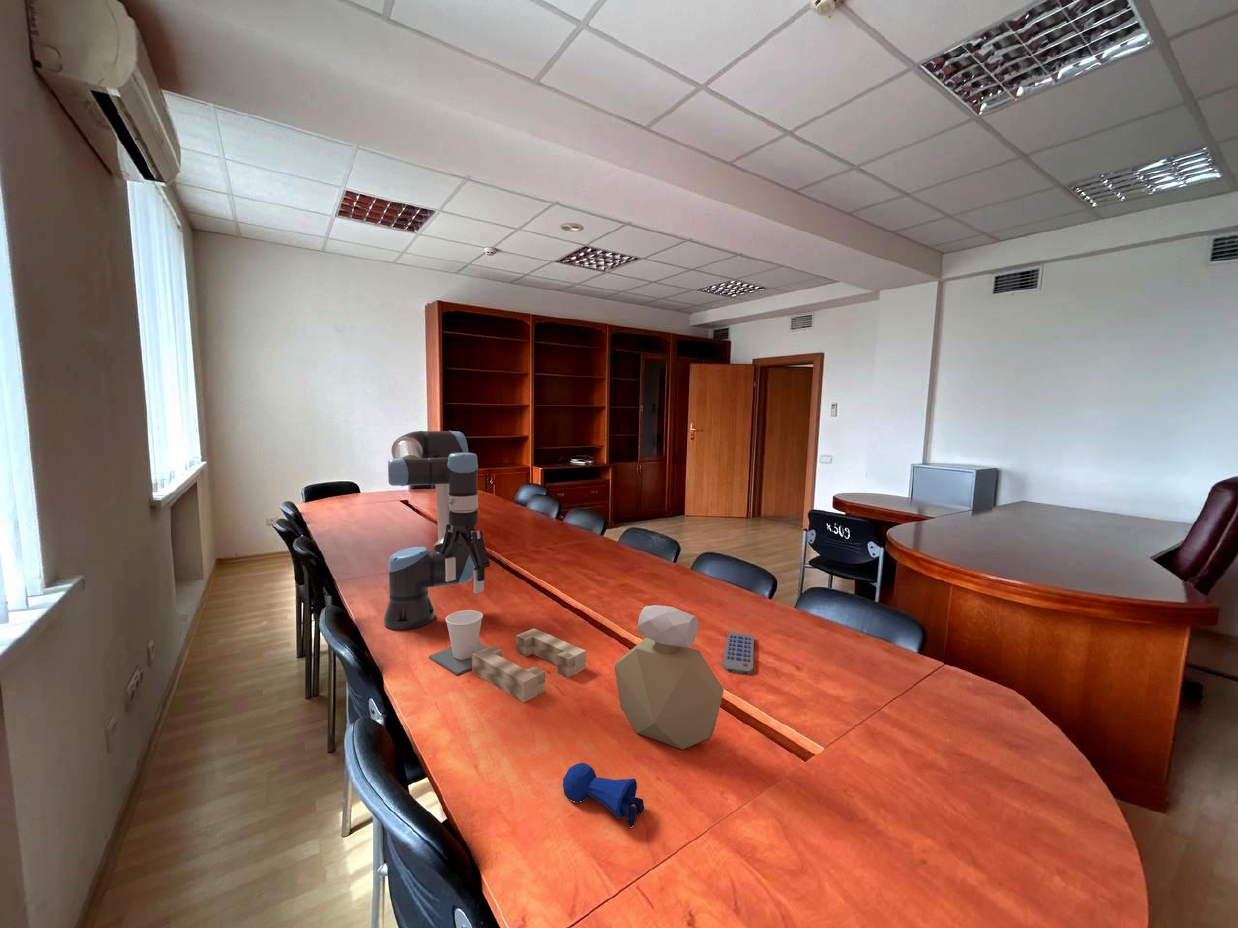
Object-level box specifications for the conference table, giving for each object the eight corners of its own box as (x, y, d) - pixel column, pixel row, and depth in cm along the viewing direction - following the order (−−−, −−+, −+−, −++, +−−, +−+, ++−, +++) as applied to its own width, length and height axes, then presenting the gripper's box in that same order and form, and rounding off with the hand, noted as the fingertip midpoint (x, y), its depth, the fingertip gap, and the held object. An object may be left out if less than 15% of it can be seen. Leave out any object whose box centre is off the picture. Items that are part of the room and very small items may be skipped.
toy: (646, 809, 85) (576, 773, 92) (649, 776, 84) (577, 742, 92) (627, 838, 79) (554, 796, 86) (629, 802, 78) (555, 764, 86)
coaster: (428, 657, 135) (428, 655, 135) (472, 640, 146) (472, 638, 146) (457, 675, 126) (457, 673, 126) (501, 655, 137) (501, 653, 137)
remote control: (753, 641, 150) (754, 634, 150) (752, 677, 129) (753, 669, 128) (727, 637, 152) (727, 630, 152) (721, 672, 131) (722, 664, 131)
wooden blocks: (472, 672, 128) (472, 653, 127) (533, 644, 144) (533, 628, 144) (524, 702, 115) (524, 682, 114) (585, 668, 131) (585, 650, 130)
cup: (472, 665, 130) (471, 626, 129) (438, 661, 132) (438, 622, 131) (489, 648, 140) (489, 611, 139) (458, 645, 142) (457, 608, 141)
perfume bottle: (710, 771, 93) (715, 630, 91) (602, 730, 105) (604, 604, 102) (728, 735, 104) (733, 608, 101) (628, 702, 115) (631, 587, 113)
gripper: (426, 505, 137) (427, 578, 139) (478, 518, 121) (479, 601, 124) (450, 502, 143) (451, 572, 145) (503, 514, 127) (503, 593, 129)
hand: (464, 586), depth 134 cm, fingers open, 13 cm apart
